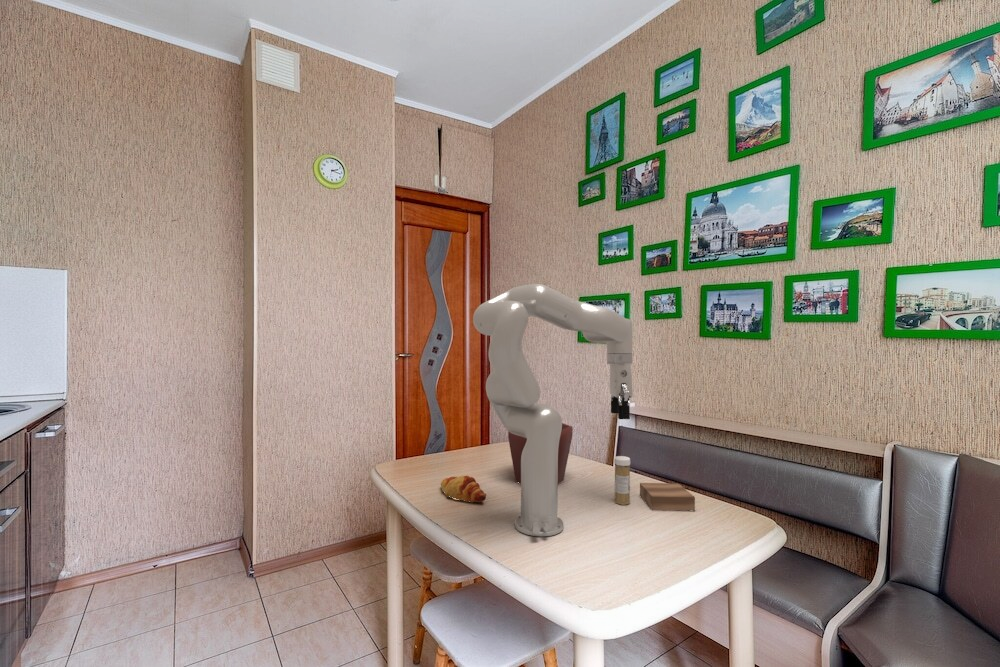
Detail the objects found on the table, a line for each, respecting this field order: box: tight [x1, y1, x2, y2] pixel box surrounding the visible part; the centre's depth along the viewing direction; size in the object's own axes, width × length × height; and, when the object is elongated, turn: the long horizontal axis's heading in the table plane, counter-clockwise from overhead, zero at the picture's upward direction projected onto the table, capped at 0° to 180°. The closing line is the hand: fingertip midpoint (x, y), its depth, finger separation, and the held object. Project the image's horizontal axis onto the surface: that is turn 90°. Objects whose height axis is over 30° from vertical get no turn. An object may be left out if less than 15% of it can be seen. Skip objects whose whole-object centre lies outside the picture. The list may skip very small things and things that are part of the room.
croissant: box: [440, 474, 487, 503], centre depth 137 cm, size 21×10×8 cm, turn 44°
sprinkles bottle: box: [614, 455, 631, 506], centre depth 133 cm, size 5×5×14 cm
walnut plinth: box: [639, 482, 696, 511], centre depth 132 cm, size 12×12×4 cm
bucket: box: [507, 422, 574, 485], centre depth 154 cm, size 24×22×25 cm
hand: (619, 415), depth 134 cm, fingers open, 9 cm apart
